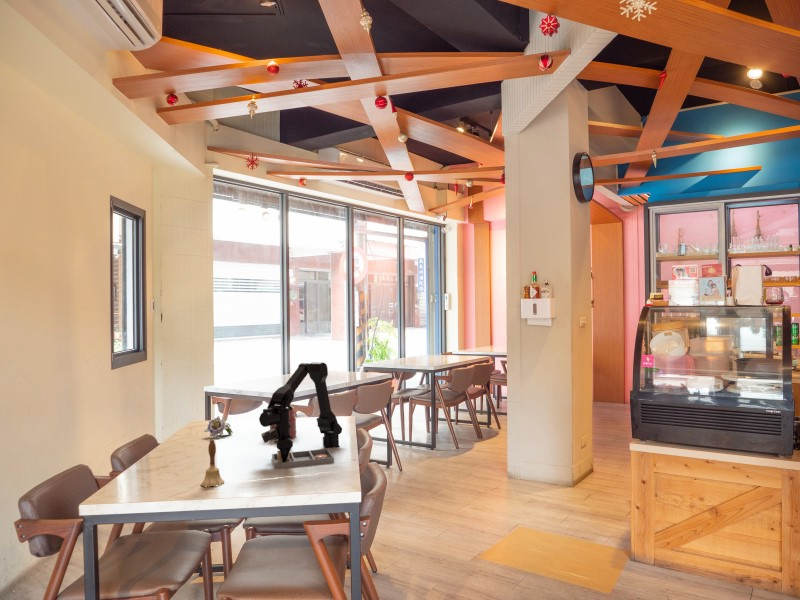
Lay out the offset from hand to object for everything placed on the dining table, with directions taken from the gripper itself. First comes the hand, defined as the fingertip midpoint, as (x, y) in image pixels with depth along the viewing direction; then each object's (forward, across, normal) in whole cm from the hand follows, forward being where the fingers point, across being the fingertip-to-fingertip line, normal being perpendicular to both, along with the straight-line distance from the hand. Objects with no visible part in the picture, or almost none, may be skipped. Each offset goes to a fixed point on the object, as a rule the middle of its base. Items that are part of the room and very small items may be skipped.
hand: (283, 460), depth 236 cm
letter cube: (+1, 0, 0) cm, 1 cm away
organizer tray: (+1, 0, +8) cm, 8 cm away
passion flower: (+2, -69, -27) cm, 74 cm away
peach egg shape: (+1, 0, +15) cm, 15 cm away
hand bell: (+2, +18, -27) cm, 33 cm away
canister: (+2, -52, +4) cm, 53 cm away
